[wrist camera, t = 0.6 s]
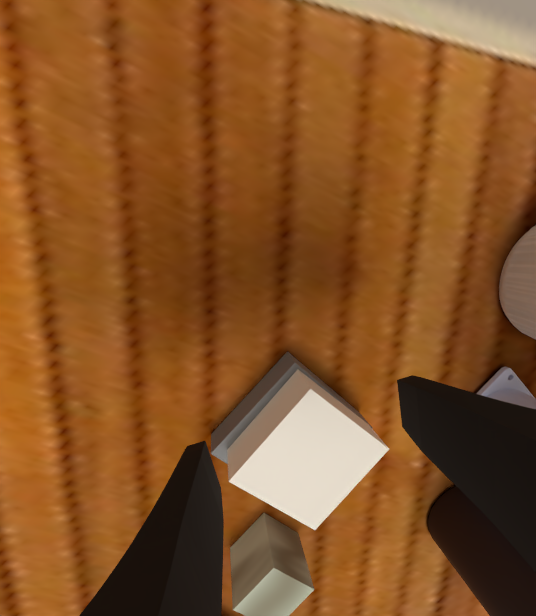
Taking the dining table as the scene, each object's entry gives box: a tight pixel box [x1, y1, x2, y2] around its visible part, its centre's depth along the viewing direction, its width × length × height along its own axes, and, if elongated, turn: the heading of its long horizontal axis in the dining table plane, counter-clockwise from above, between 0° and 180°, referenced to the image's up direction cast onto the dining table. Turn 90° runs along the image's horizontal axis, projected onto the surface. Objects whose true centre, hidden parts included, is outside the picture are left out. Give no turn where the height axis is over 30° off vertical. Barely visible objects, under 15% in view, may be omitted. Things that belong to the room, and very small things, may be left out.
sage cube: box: [230, 513, 314, 616], centre depth 21 cm, size 4×4×4 cm
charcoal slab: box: [211, 351, 372, 464], centre depth 20 cm, size 8×8×2 cm
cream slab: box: [227, 369, 389, 530], centre depth 17 cm, size 7×7×2 cm
